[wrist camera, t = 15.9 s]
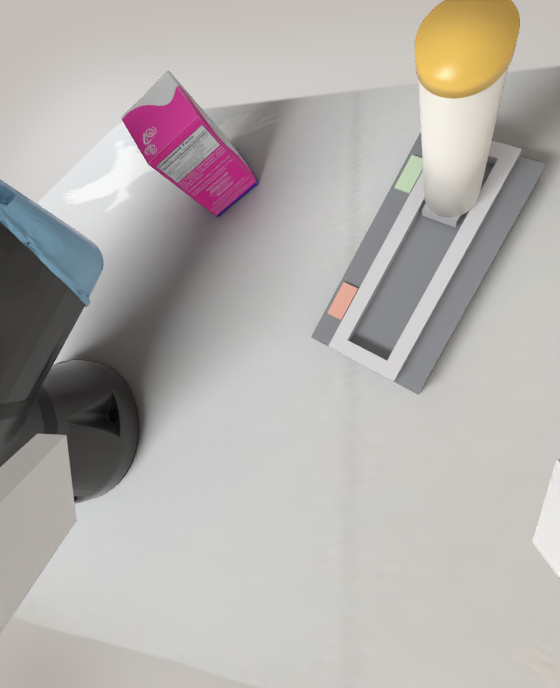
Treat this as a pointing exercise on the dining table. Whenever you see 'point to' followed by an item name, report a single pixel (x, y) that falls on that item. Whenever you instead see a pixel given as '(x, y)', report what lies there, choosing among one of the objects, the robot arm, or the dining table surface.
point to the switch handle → (461, 97)
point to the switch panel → (422, 269)
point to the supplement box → (188, 146)
